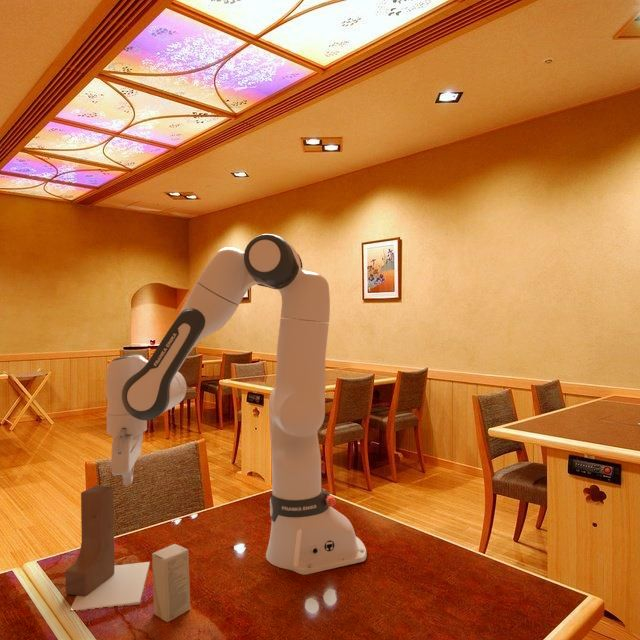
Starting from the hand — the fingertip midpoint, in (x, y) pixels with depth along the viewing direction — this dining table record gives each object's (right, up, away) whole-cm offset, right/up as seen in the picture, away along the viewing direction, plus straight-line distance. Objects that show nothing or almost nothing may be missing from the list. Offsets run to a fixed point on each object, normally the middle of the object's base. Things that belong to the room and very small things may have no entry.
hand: (128, 483), depth 119 cm
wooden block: (0, -14, -18) cm, 23 cm away
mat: (+4, -14, -19) cm, 24 cm away
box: (+18, -14, -28) cm, 36 cm away
